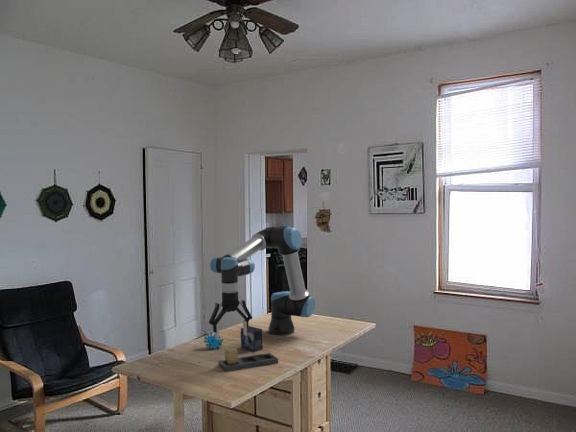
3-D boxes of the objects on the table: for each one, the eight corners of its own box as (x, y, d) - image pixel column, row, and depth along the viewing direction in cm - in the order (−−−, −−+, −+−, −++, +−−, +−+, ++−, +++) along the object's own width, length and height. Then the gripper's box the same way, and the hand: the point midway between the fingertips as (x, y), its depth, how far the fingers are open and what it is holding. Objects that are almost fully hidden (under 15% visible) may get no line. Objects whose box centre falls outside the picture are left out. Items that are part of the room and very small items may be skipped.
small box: (240, 347, 255) (239, 328, 255) (249, 345, 260) (249, 325, 259) (254, 352, 248) (253, 331, 247) (263, 349, 253) (263, 328, 252)
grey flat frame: (269, 356, 240) (269, 352, 240) (278, 362, 231) (278, 358, 231) (218, 365, 229) (218, 360, 229) (225, 371, 220) (225, 367, 219)
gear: (206, 348, 249) (203, 331, 255) (202, 354, 252) (199, 337, 259) (226, 347, 255) (222, 331, 261) (222, 354, 258) (218, 337, 264)
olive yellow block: (234, 364, 229) (234, 347, 229) (237, 367, 225) (237, 350, 225) (225, 366, 227) (225, 349, 227) (228, 369, 223) (228, 351, 223)
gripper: (252, 287, 233) (253, 331, 235) (201, 292, 223) (202, 338, 224) (258, 289, 227) (259, 335, 228) (205, 295, 216) (207, 343, 217)
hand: (231, 336), depth 226 cm, fingers open, 13 cm apart
